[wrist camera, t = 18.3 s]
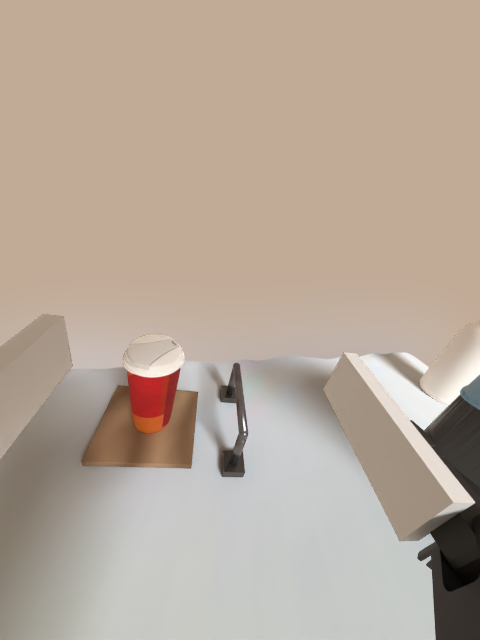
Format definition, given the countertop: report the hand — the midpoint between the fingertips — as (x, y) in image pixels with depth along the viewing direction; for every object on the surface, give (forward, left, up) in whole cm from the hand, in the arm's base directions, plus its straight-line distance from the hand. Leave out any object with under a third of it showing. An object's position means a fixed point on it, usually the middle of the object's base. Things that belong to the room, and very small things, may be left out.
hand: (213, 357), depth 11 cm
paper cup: (+6, -16, -27) cm, 32 cm away
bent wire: (-7, -16, -28) cm, 33 cm away
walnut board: (+6, -16, -28) cm, 33 cm away
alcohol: (-63, -30, -28) cm, 75 cm away
